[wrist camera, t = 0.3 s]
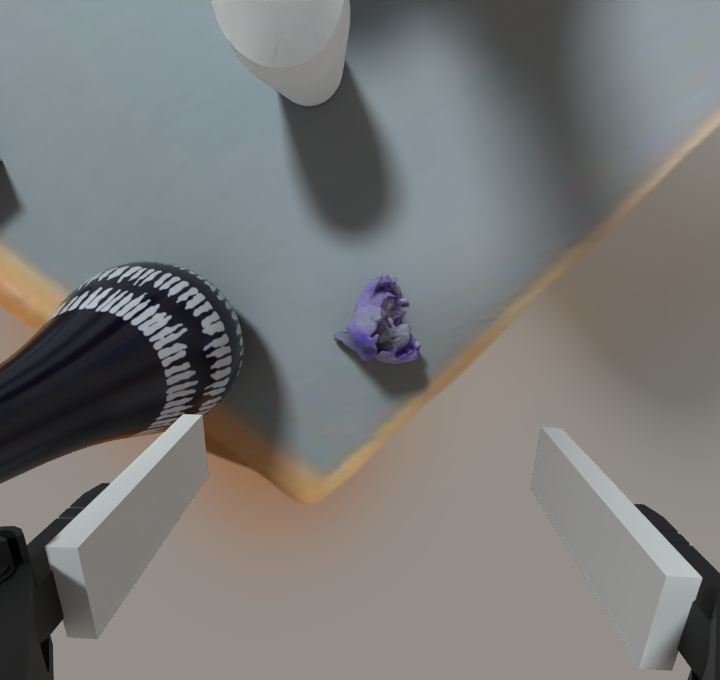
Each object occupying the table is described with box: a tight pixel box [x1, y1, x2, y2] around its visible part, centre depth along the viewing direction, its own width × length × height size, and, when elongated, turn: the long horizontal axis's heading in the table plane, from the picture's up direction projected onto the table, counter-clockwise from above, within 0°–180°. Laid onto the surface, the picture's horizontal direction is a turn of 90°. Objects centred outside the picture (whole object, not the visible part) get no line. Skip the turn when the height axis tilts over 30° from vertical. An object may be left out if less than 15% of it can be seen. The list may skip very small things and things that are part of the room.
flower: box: [334, 275, 421, 364], centre depth 39 cm, size 9×9×10 cm
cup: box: [211, 0, 350, 106], centre depth 30 cm, size 9×9×12 cm
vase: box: [0, 261, 244, 484], centre depth 29 cm, size 16×16×30 cm
